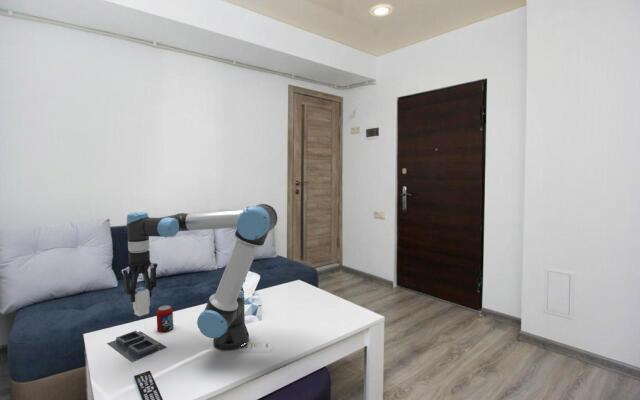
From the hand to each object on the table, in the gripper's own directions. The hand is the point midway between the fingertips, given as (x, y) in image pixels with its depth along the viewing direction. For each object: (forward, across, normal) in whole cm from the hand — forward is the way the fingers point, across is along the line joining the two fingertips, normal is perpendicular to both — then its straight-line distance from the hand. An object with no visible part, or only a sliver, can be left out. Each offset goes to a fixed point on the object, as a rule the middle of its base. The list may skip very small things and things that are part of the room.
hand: (141, 307), depth 135 cm
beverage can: (+20, -15, -11) cm, 27 cm away
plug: (+3, 0, 0) cm, 3 cm away
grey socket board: (+19, 0, -6) cm, 20 cm away
